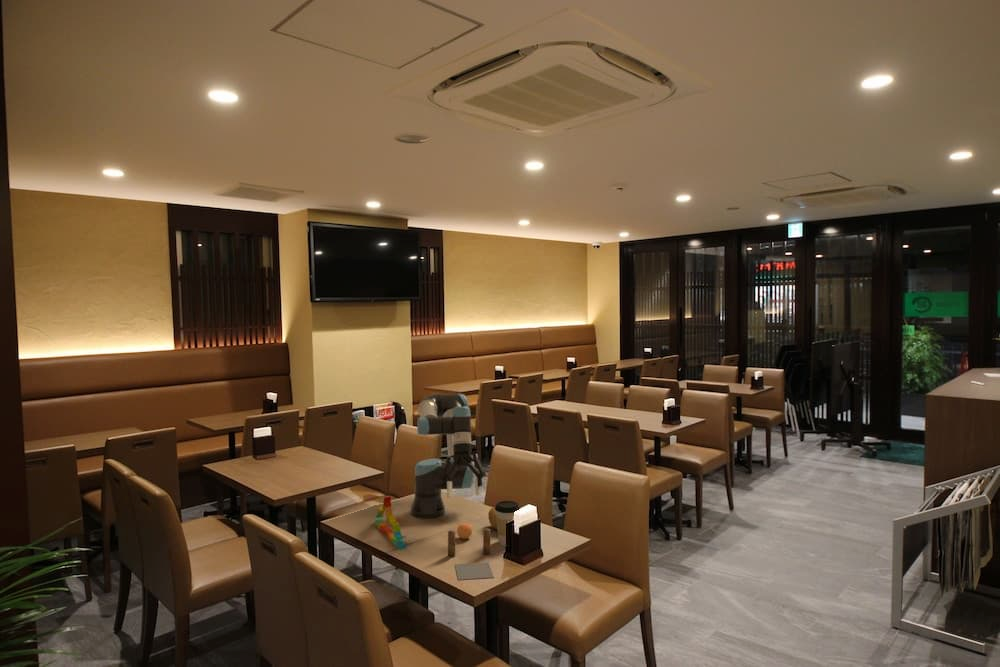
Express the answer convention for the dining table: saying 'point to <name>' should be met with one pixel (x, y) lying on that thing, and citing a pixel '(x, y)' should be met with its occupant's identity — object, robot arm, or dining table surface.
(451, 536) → the post
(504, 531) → the coffee cup
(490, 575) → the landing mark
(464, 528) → the ball
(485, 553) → the post
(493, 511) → the potato
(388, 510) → the colorful toy block stack
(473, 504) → the dining table surface
